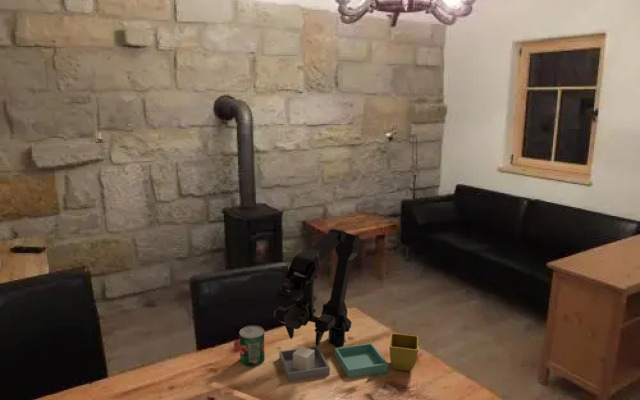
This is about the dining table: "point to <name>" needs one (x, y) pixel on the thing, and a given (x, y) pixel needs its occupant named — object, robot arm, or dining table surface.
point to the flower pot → (403, 351)
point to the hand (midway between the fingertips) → (304, 342)
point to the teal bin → (361, 360)
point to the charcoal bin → (294, 374)
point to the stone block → (303, 358)
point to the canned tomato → (252, 346)
